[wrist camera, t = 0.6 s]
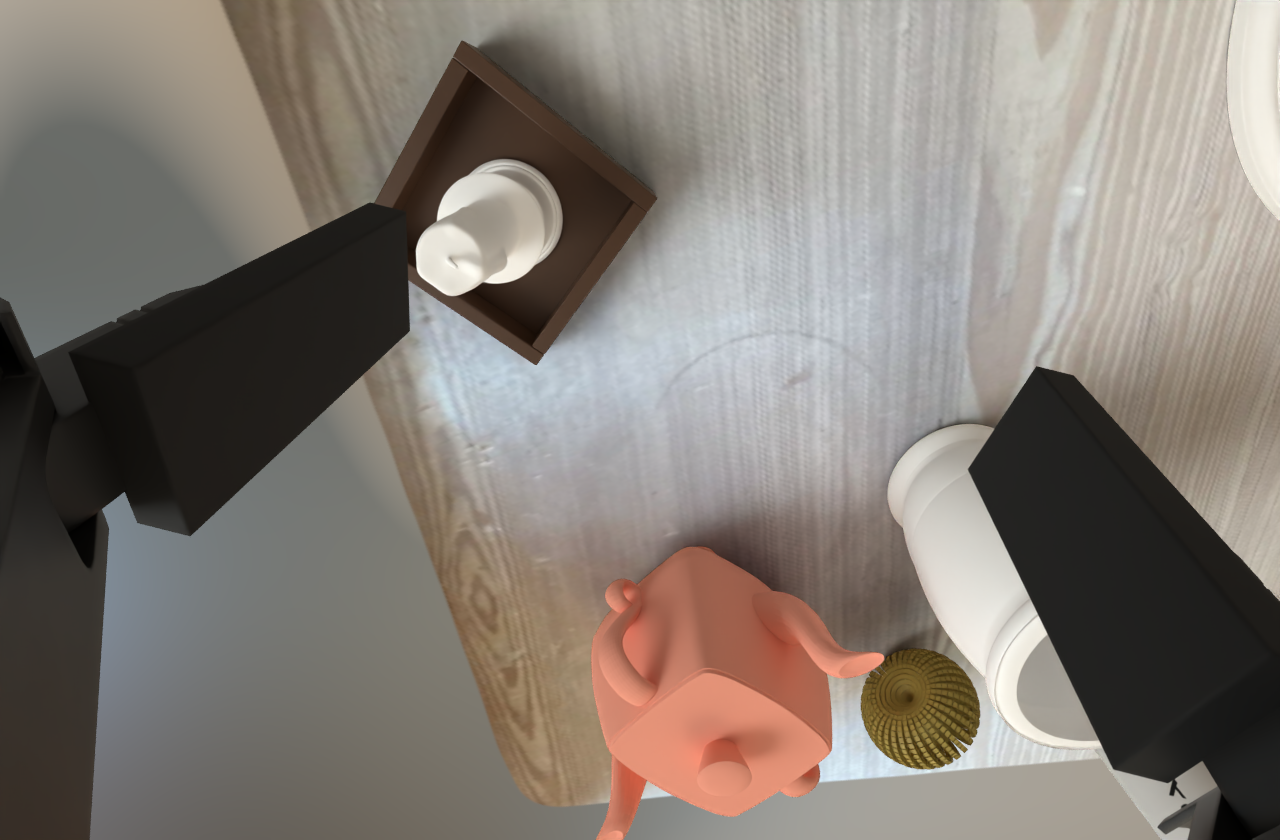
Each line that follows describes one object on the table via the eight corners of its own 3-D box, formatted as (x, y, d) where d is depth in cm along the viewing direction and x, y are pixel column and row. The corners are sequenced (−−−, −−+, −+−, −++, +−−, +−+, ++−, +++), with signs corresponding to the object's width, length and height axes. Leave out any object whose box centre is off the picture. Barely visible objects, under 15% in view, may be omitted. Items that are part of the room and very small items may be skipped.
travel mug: (1138, 695, 47) (1447, 1042, 29) (1051, 712, 48) (1301, 1061, 30) (1143, 639, 45) (1486, 982, 27) (1051, 658, 46) (1325, 1004, 28)
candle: (576, 182, 30) (545, 213, 19) (545, 282, 32) (502, 360, 21) (471, 141, 29) (377, 149, 18) (447, 247, 31) (350, 309, 21)
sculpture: (865, 699, 47) (907, 801, 40) (835, 672, 46) (873, 773, 39) (955, 647, 45) (1016, 746, 38) (926, 617, 44) (985, 714, 36)
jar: (888, 403, 36) (1041, 567, 23) (1057, 407, 36) (1308, 572, 23) (855, 546, 41) (965, 753, 27) (1005, 549, 41) (1188, 755, 28)
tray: (475, 46, 28) (461, 39, 26) (656, 193, 31) (657, 198, 29) (372, 235, 32) (352, 243, 29) (542, 350, 34) (536, 366, 32)
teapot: (818, 513, 40) (893, 669, 28) (794, 690, 47) (846, 872, 35) (590, 517, 40) (572, 675, 28) (601, 694, 47) (591, 877, 35)
